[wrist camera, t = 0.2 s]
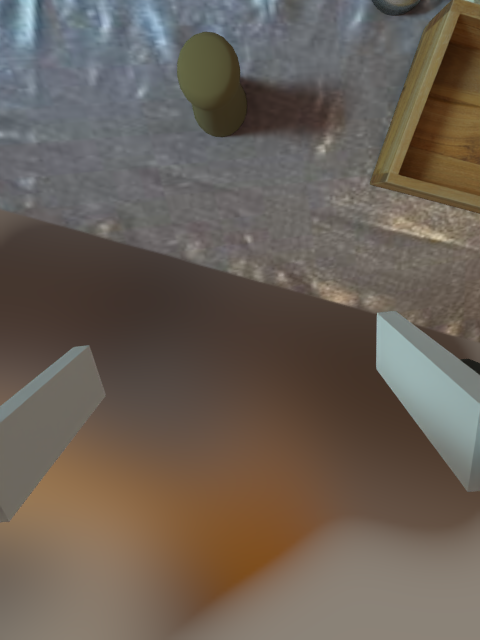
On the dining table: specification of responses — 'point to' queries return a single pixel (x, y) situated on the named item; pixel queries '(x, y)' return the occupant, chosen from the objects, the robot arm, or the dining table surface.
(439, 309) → the dining table surface
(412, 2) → the silver pot lid
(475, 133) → the tray
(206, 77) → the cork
